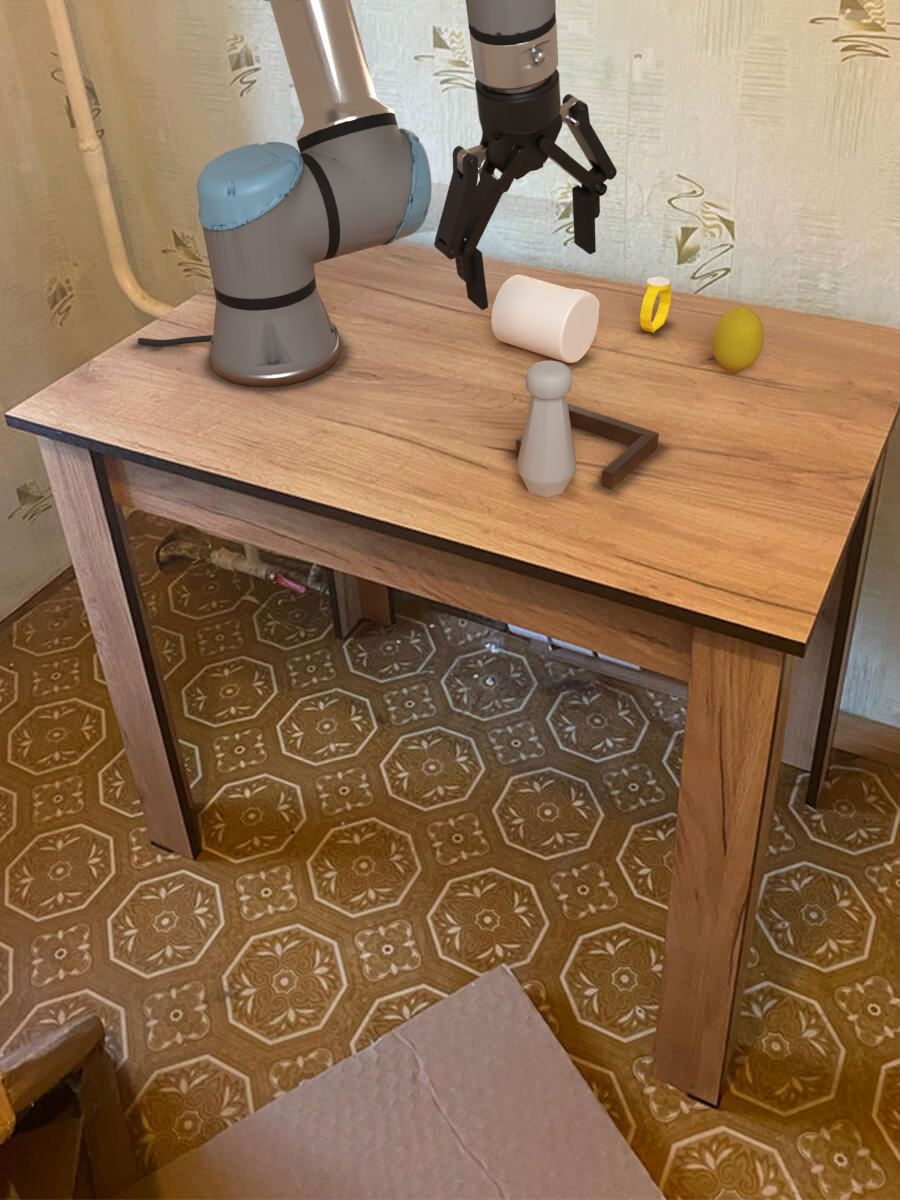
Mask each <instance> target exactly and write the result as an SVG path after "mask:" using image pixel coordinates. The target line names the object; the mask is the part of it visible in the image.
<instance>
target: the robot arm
mask: <svg viewBox="0 0 900 1200" xmlns="http://www.w3.org/2000/svg"><path fill="white" fill-rule="evenodd" d="M264 1H266V2H269V3H270V6H271V7H270V8H271V10H272V13H273V17H274V20H275V24H276V27H277V31H278V34H279V38H280V41H281V45H282V48H283V51H284V55H285V58H286V62H287V65H288V69H289V72H290V73H289V74H290V75H291V79H292V83H293V86H294V89H295V93H296V96H297V100H298V104H299V106H300V110H301V114H302V117H303V123H302V126H301V127H300V130H299V131H298V134H297V136H296V139H295V141H296V145H297V148H298V149H297V148H296V147H295V146H294V145H292V144H290V143H287V142H281V141H267V142H265V143H262V144H260V143H258V142H257V143H252V144H246V145H243V146H240V147H237V148H234V149H231V150H229V151H226V152H224V153H222V154H219V155H218V156H217V157H215V158H214V159H212V160H211V161H209V162H208V163H207V164H206V165H205V167H204V168H203V169H202V171H201V172H200V174H199V176H198V178H197V181H196V182H197V183H196V192H197V193H196V194H197V201H198V220H199V222H200V225H201V227H202V232H203V237H204V243H205V248H206V252H207V253H206V254H207V258H208V264H209V269H210V274H211V281H212V286H213V291H214V297H215V310H214V318H213V319H214V320H213V334H209V335H195V336H185V337H184V336H183V337H178V338H177V337H176V338H170V339H153V338H145V337H138V338H137V343H138V345H142V346H143V345H144V346H151V347H170V346H171V347H172V346H180V345H185V344H186V345H187V344H199V343H209V355H210V360H211V366H212V368H213V370H214V372H215V373H216V374H217V375H218V376H219V377H221V378H223V379H224V380H227V381H229V382H231V383H234V384H239V385H243V386H247V387H248V386H249V387H262V388H263V387H264V388H265V387H278V386H286V385H291V384H296V383H300V382H303V381H306V380H309V379H312V378H314V377H316V376H318V375H320V374H322V373H323V372H326V371H327V370H328V369H329V368H331V367H332V366H333V365H334V364H335V362H337V360H338V358H339V356H340V343H339V339H341V338H340V337H341V336H340V334H339V331H338V329H337V326H336V324H335V322H334V321H331V318H330V315H329V313H328V311H327V308H326V306H325V304H324V302H323V300H322V298H321V296H320V293H319V291H318V288H317V281H316V273H315V271H316V270H315V264H317V263H321V262H324V261H328V260H331V259H336V258H339V257H342V256H346V255H350V254H353V253H354V254H355V253H357V252H361V251H364V250H368V249H372V248H376V247H378V246H387V245H389V244H393V243H394V242H395V241H398V240H401V239H403V238H406V237H409V236H412V235H414V234H415V233H416V232H418V231H419V230H420V229H421V227H422V226H423V224H424V223H425V221H426V219H427V216H428V213H429V208H430V206H431V201H432V189H433V188H432V187H433V184H432V172H431V165H430V161H429V158H428V154H427V151H426V149H425V146H424V144H423V143H422V142H420V137H419V136H418V135H417V133H415V132H414V131H412V130H410V129H406V128H403V127H400V128H399V124H398V121H397V117H396V113H395V110H393V109H392V108H391V107H389V106H387V105H386V104H384V103H382V102H381V101H380V100H379V99H378V98H377V94H376V90H375V87H374V83H373V79H372V75H371V71H370V68H369V65H368V64H369V63H368V61H367V57H366V53H365V49H364V46H363V43H362V39H361V35H360V31H359V27H358V24H357V20H356V16H355V13H354V8H353V6H352V2H351V0H264ZM556 2H557V1H556V0H465V5H466V6H465V7H466V15H467V22H468V31H469V41H470V53H471V63H472V73H473V76H474V78H475V81H474V89H475V98H476V99H475V100H476V105H477V107H476V109H477V116H478V120H479V124H480V127H481V131H482V132H481V139H480V142H479V144H478V145H475V146H473V147H469V148H465V147H463V146H462V145H457V146H456V147H454V148H453V150H452V173H451V178H450V182H449V186H448V189H447V193H446V197H445V201H444V204H443V208H442V211H441V215H440V219H439V223H438V227H437V231H436V235H435V238H434V243H433V245H434V248H435V249H437V250H438V251H439V252H440V253H442V254H443V255H444V256H445V257H446V258H448V259H449V260H455V266H456V267H455V268H456V272H457V276H458V277H459V278H460V279H461V280H462V281H463V282H464V283H465V287H466V288H465V289H466V296H467V299H468V300H469V301H471V302H472V303H473V304H474V305H475V306H476V307H478V308H479V309H480V310H481V311H484V310H486V309H488V308H489V301H488V300H489V299H488V292H487V284H486V274H485V267H484V259H483V252H482V251H481V250H480V249H479V248H477V247H478V245H479V243H480V240H481V238H482V237H483V235H484V232H485V230H486V228H487V227H488V224H489V222H490V220H491V218H492V216H493V214H494V212H495V210H496V209H497V206H498V205H499V202H500V200H501V198H502V196H503V195H504V193H505V194H506V193H508V192H509V190H510V188H511V186H512V184H513V182H514V180H516V181H517V180H520V179H522V178H523V177H525V176H527V174H529V173H531V172H535V171H538V170H540V169H543V168H544V164H545V163H547V161H548V159H549V160H550V161H552V162H553V163H554V164H556V165H557V166H558V167H559V168H560V169H562V170H563V171H564V172H565V173H567V174H568V175H569V176H570V177H572V179H574V180H576V181H577V182H578V183H579V185H578V184H577V185H575V186H573V187H571V192H572V193H571V195H572V196H571V197H572V215H573V217H572V219H573V240H574V244H575V245H576V246H577V247H578V248H580V249H581V250H583V251H584V252H586V253H587V254H588V255H592V254H594V253H596V252H597V245H596V244H597V243H596V239H597V238H596V219H597V218H599V217H600V214H601V197H603V196H604V195H606V193H607V191H608V185H607V184H606V183H605V182H606V181H607V180H608V181H611V180H613V179H615V177H616V176H617V172H618V171H617V168H616V166H615V165H614V163H613V161H612V159H611V157H610V156H609V154H608V152H607V150H606V148H605V146H604V145H603V143H602V142H601V140H600V138H599V135H598V134H597V133H596V131H595V129H594V128H593V126H592V124H591V121H590V111H589V106H588V104H587V103H586V102H584V101H583V100H581V99H579V98H577V97H575V96H574V95H573V94H571V93H567V94H565V95H564V97H563V98H562V102H561V86H560V85H561V84H560V83H561V81H560V72H559V70H558V69H557V68H558V66H559V52H558V51H559V49H558V27H557V14H556V13H557V5H556ZM563 125H565V126H567V128H568V130H569V131H570V133H571V134H572V136H573V137H574V139H575V141H576V143H577V144H578V146H579V148H580V150H581V151H582V153H583V155H584V156H585V158H586V160H587V162H588V163H589V165H590V167H591V168H590V169H589V170H588V169H587V168H585V167H584V166H583V165H581V164H580V162H578V161H577V160H576V159H575V158H574V157H572V156H571V155H569V153H567V152H566V151H565V150H564V149H562V148H561V147H560V146H559V145H558V144H557V143H556V142H557V139H558V138H559V137H558V136H559V135H560V133H561V130H562V128H563ZM496 170H497V171H498V172H499V173H501V175H500V177H498V176H497V175H495V171H496ZM580 185H581V186H580Z"/></svg>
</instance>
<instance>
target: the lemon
mask: <svg viewBox="0 0 900 1200" xmlns="http://www.w3.org/2000/svg"><path fill="white" fill-rule="evenodd" d="M764 341H765V331H764V325H763V322H762V319H761V318H760V316H759V315H758V314H757V313H756V312H755V311H753V310H752V309H750V308H747V307H746V306H745V305H740V306H739V307H733V308H731V309H729V310H728V311H726V312H724V314H722V315H721V317H720V318H719V319H718V321H717V323H716V325H715V329H714V330H713V335H712V341H711V346H712V347H711V348H712V353H713V357H714V358H715V360H716V362H717V363H718V364H719V365H720V366H721V367H723V368H724V369H726V370H728V371H729V372H730V373H731V374H737V373H738V372H739V371H743V370H745V369H748V368H750V367H751V366H753V365H754V363H756V361H758V358H759V357H760V355H761V353H762V350H763V347H764Z"/></svg>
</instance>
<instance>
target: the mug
mask: <svg viewBox="0 0 900 1200" xmlns="http://www.w3.org/2000/svg"><path fill="white" fill-rule="evenodd" d="M600 308H601V303H600V301H599V299H598V298H597V296H596V295H594V294H593V293H591V292H589V291H587V290H583V289H578V288H569V287H566V286H562V285H558V284H555V283H552V282H548V281H545V280H541V279H538V278H533V277H531V276H527V275H523V274H514V275H512V276H510V277H508V279H506V280H505V281H504V282H503V284H502V285H501V286H500V288H499V289H498V291H497V293H496V296H495V297H494V301H493V305H492V309H491V316H490V317H491V318H490V320H491V321H490V325H491V330H492V332H493V335H494V336H495V338H496V339H497V340H498V341H499V342H502V343H505V344H508V345H511V346H515V347H518V348H520V349H524V350H526V351H530V352H533V353H535V354H539V355H542V356H545V357H548V358H551V359H555V360H556V361H560V362H563V363H568V364H573V363H574V364H575V363H577V362H579V361H580V360H581V359H582V358H583V357H585V355H586V354H587V352H588V351H589V349H590V348H591V347H592V344H593V342H594V340H595V337H596V334H597V330H598V326H599V321H600V320H599V319H600Z"/></svg>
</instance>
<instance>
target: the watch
mask: <svg viewBox="0 0 900 1200" xmlns="http://www.w3.org/2000/svg"><path fill="white" fill-rule="evenodd" d="M646 288H647V290H646V291H645V294H644V297H643V299H642V303H641V306H640V313H639V323H640V327H641V329H642V330H643V332H644V331H645V332H648V333H652V334H653V333H655V332H656V331H657V330H658V329H660V328H661V327H662V326H664V325H665V323H666V320H667V318H668V315H669V312H670V308H671V303H672V296H673V295H672V287H671V281H670V279H669V278H666V277H662V276H653V277H649V278H647V280H646ZM658 295H659V303H658V306H657V309H656V313H655V315H654V318H653V320H652V317H653V309H654V306H655V303H656V299H657V297H658Z"/></svg>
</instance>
